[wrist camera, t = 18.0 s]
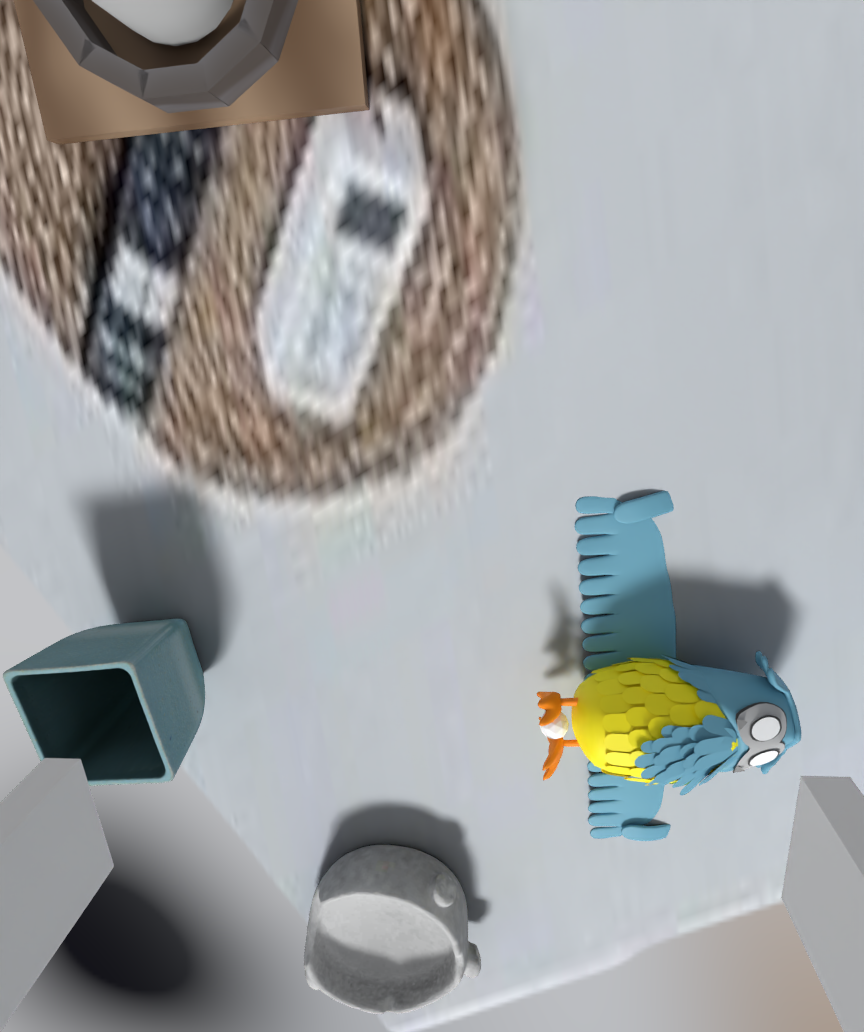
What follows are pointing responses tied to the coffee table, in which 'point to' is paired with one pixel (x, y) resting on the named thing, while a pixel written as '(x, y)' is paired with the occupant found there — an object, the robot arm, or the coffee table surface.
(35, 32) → the can holder
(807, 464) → the coffee table surface
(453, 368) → the coffee table surface
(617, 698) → the blue yellow plastic figure
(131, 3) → the can
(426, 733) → the coffee table surface
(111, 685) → the flower pot
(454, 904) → the dish
